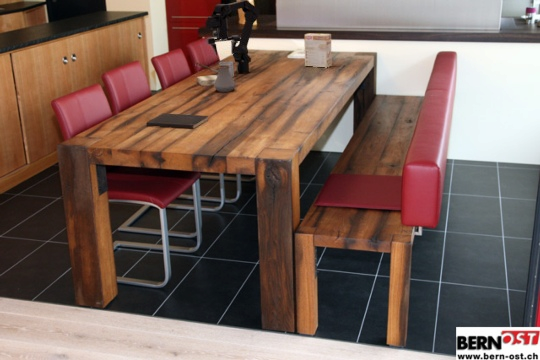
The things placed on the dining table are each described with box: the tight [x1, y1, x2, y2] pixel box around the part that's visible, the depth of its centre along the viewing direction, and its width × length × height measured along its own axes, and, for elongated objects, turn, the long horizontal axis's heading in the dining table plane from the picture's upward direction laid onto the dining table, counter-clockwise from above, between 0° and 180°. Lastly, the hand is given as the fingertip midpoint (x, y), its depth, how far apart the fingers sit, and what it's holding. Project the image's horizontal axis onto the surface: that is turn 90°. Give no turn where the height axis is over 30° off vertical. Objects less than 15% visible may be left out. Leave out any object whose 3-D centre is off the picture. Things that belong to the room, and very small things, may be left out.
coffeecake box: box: [304, 32, 332, 69], centre depth 422 cm, size 15×7×20 cm, turn 58°
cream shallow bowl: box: [196, 74, 218, 87], centre depth 392 cm, size 12×12×3 cm
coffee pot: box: [194, 62, 237, 93], centre depth 371 cm, size 21×12×15 cm, turn 79°
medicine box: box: [218, 60, 235, 78], centre depth 405 cm, size 8×4×9 cm, turn 84°
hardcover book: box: [145, 112, 209, 130], centre depth 314 cm, size 16×23×2 cm
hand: (224, 54), depth 402 cm, fingers open, 9 cm apart
